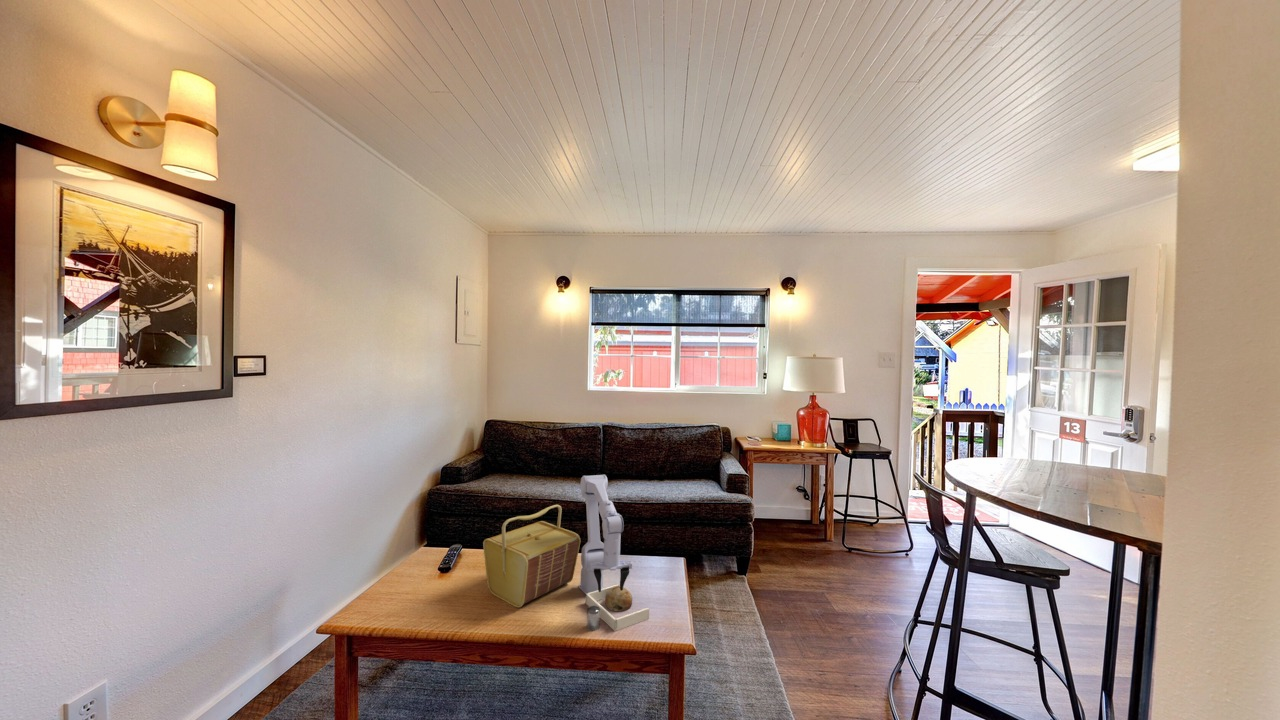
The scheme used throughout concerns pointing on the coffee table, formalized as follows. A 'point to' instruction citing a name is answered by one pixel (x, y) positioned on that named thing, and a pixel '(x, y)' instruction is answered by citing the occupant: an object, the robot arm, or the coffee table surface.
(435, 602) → the coffee table surface
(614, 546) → the robot arm
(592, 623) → the grey tin
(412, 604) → the coffee table surface
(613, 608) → the bread roll
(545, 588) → the picnic basket
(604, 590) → the cream low open frame
